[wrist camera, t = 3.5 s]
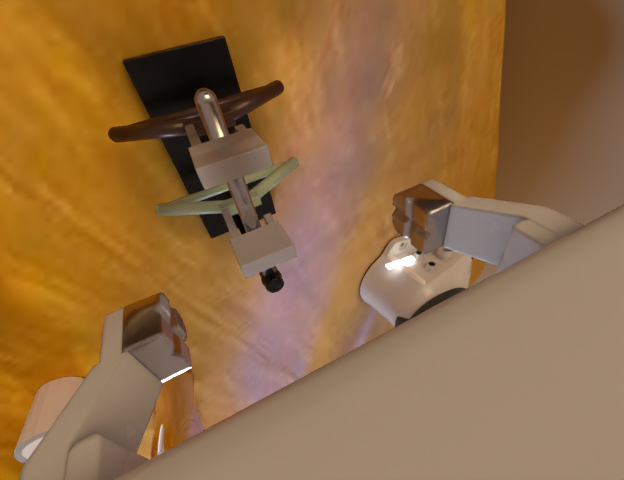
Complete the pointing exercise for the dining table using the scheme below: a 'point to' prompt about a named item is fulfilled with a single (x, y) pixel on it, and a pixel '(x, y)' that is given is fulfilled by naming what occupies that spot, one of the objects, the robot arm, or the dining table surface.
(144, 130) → the walnut hanger
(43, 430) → the beige short cylinder
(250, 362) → the dining table surface
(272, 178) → the sage hanger
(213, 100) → the rail stand
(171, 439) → the beer glass
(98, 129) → the dining table surface
